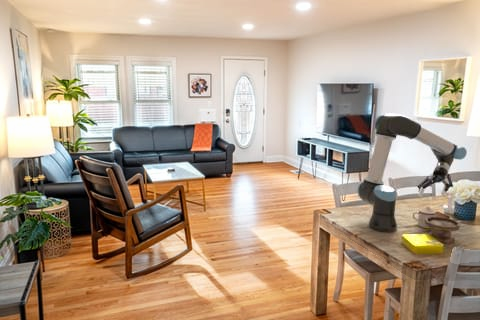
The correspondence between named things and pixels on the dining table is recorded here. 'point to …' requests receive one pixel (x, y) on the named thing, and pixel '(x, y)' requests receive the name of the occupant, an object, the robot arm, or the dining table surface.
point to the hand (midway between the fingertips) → (430, 195)
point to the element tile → (422, 244)
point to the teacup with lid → (424, 216)
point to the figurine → (449, 205)
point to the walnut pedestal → (442, 228)
